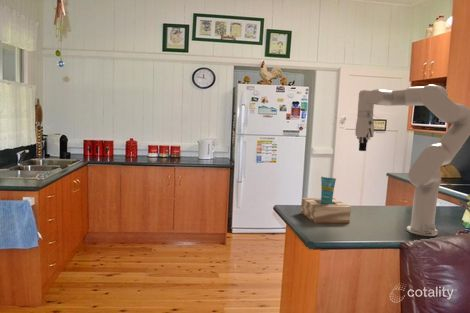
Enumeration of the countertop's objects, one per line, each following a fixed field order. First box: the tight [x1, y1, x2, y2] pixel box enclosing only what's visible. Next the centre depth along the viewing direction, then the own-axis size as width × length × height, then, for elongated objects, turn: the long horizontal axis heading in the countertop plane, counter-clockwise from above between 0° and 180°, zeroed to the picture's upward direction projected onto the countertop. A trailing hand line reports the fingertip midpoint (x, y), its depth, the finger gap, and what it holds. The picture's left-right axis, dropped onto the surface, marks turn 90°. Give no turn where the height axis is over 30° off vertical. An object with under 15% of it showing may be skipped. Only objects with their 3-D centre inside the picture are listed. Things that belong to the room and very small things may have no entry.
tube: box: [320, 176, 337, 205], centre depth 189 cm, size 7×5×19 cm, turn 62°
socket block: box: [300, 197, 352, 224], centre depth 190 cm, size 18×18×8 cm
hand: (362, 150), depth 194 cm, fingers closed
